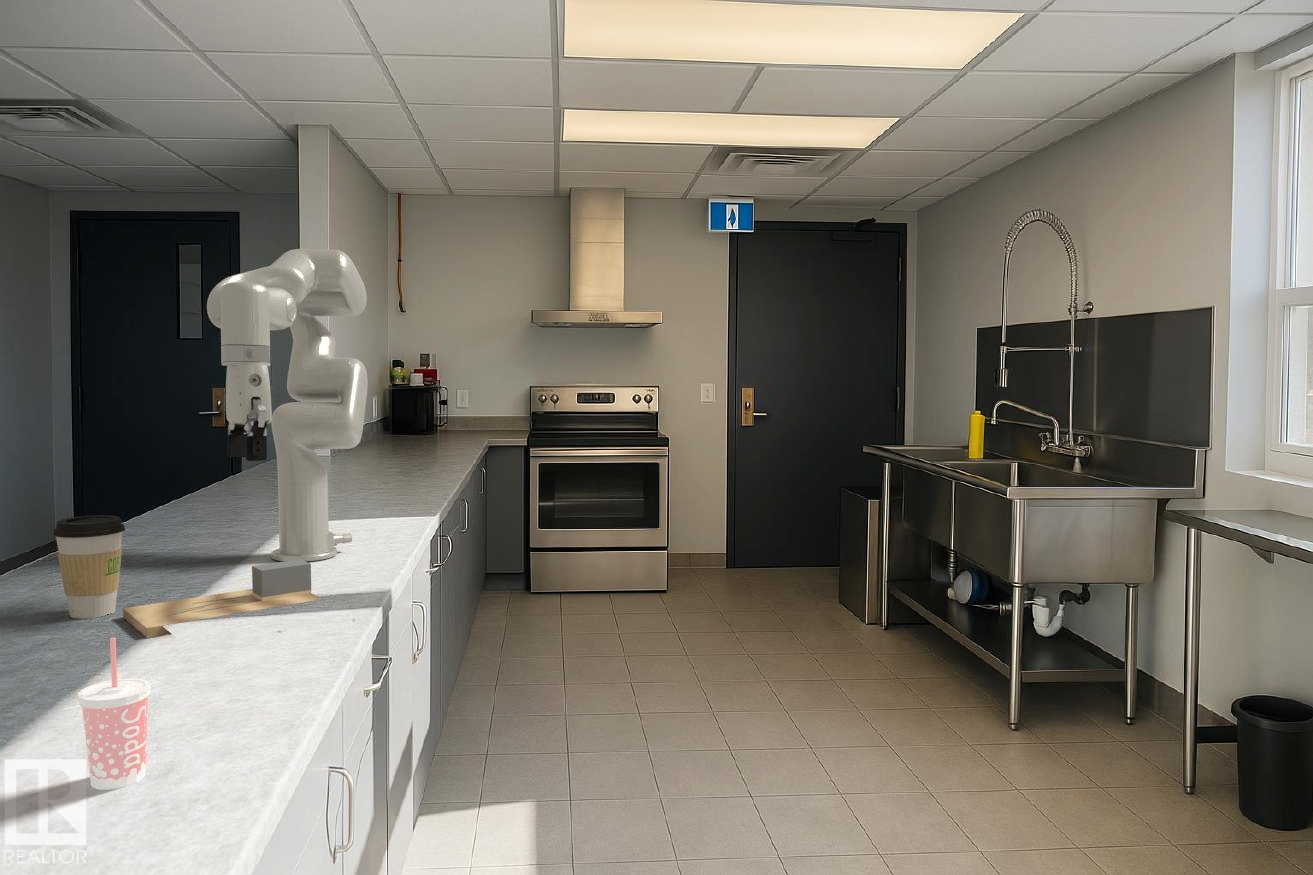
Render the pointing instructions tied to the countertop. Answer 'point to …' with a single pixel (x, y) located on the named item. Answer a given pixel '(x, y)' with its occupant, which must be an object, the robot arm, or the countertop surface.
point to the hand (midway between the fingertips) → (247, 458)
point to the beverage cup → (115, 728)
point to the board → (201, 609)
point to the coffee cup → (90, 563)
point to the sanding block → (281, 579)
